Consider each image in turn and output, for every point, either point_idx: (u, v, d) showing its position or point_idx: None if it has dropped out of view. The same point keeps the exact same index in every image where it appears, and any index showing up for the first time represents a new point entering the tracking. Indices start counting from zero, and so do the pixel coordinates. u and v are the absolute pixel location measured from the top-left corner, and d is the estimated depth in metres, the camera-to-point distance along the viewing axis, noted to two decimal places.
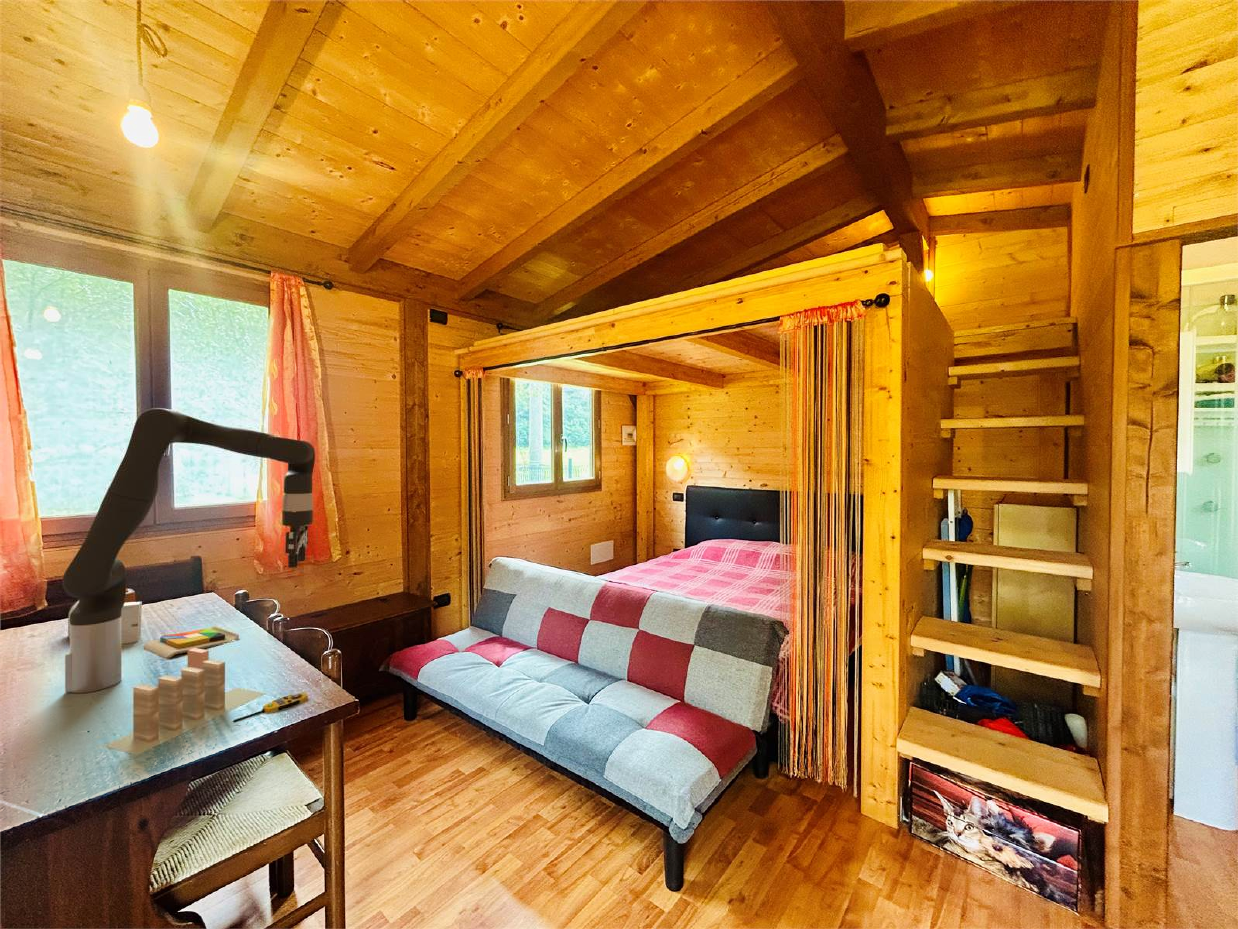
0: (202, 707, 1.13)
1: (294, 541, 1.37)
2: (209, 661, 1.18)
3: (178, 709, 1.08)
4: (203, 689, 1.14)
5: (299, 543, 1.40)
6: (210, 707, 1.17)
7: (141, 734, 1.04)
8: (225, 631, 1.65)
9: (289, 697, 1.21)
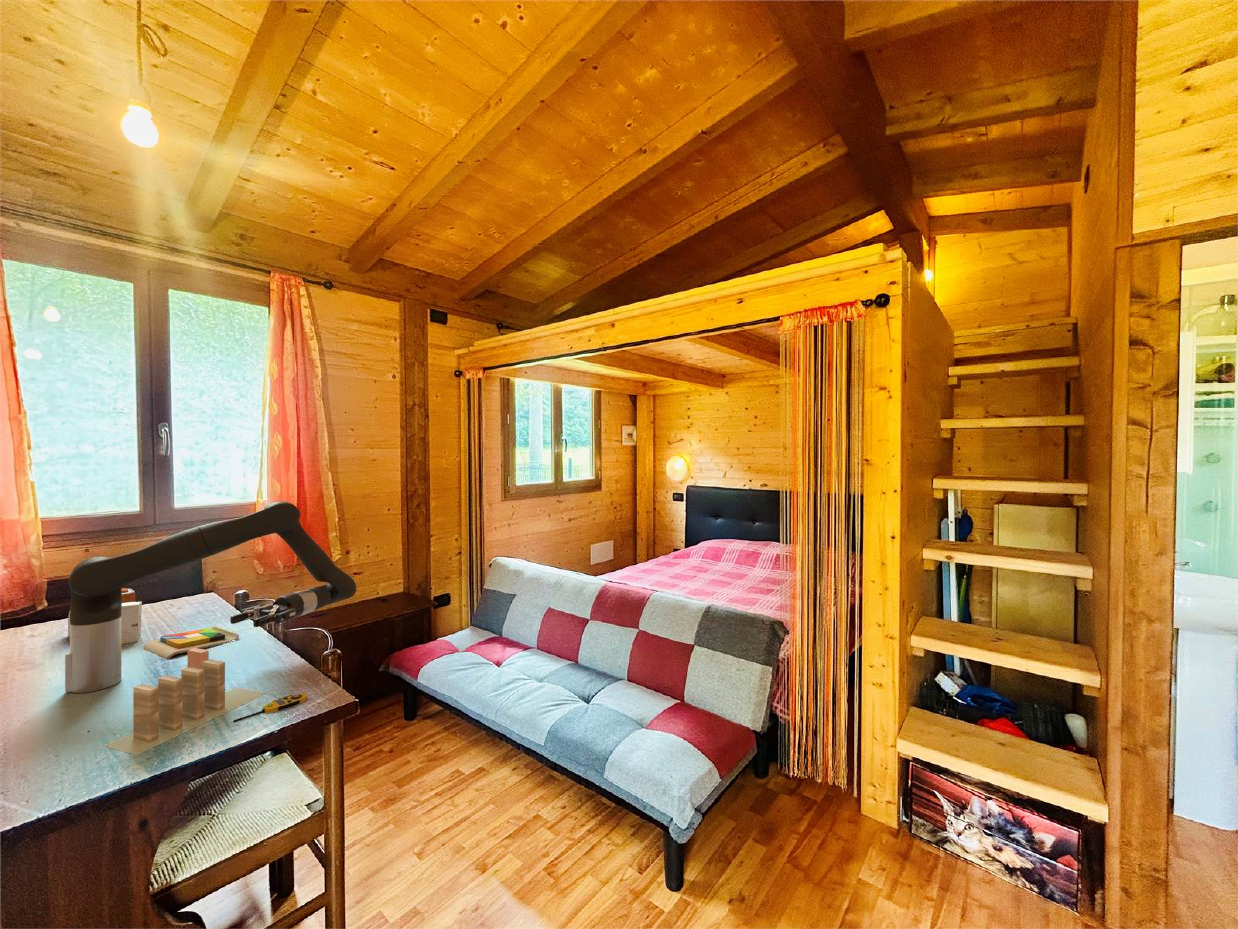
0: (202, 707, 1.13)
1: (288, 618, 1.42)
2: (209, 661, 1.18)
3: (178, 709, 1.08)
4: (203, 689, 1.14)
5: None
6: (210, 707, 1.17)
7: (141, 734, 1.04)
8: (225, 631, 1.65)
9: (289, 697, 1.21)
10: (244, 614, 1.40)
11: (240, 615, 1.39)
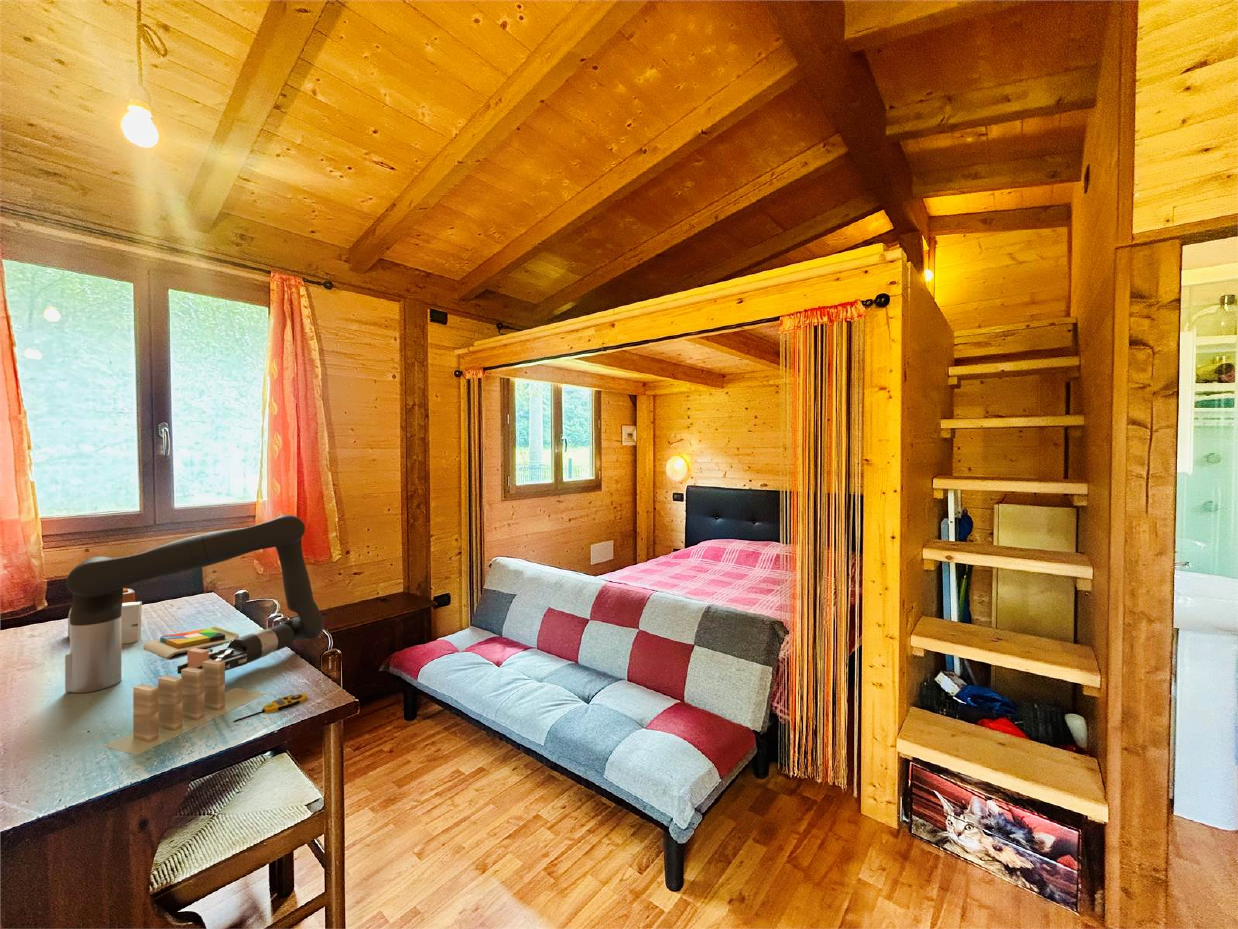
0: (202, 707, 1.13)
1: (235, 666, 1.28)
2: (209, 661, 1.18)
3: (178, 709, 1.08)
4: (203, 689, 1.14)
5: None
6: (210, 707, 1.17)
7: (141, 734, 1.04)
8: (225, 631, 1.65)
9: (289, 697, 1.21)
10: None
11: None
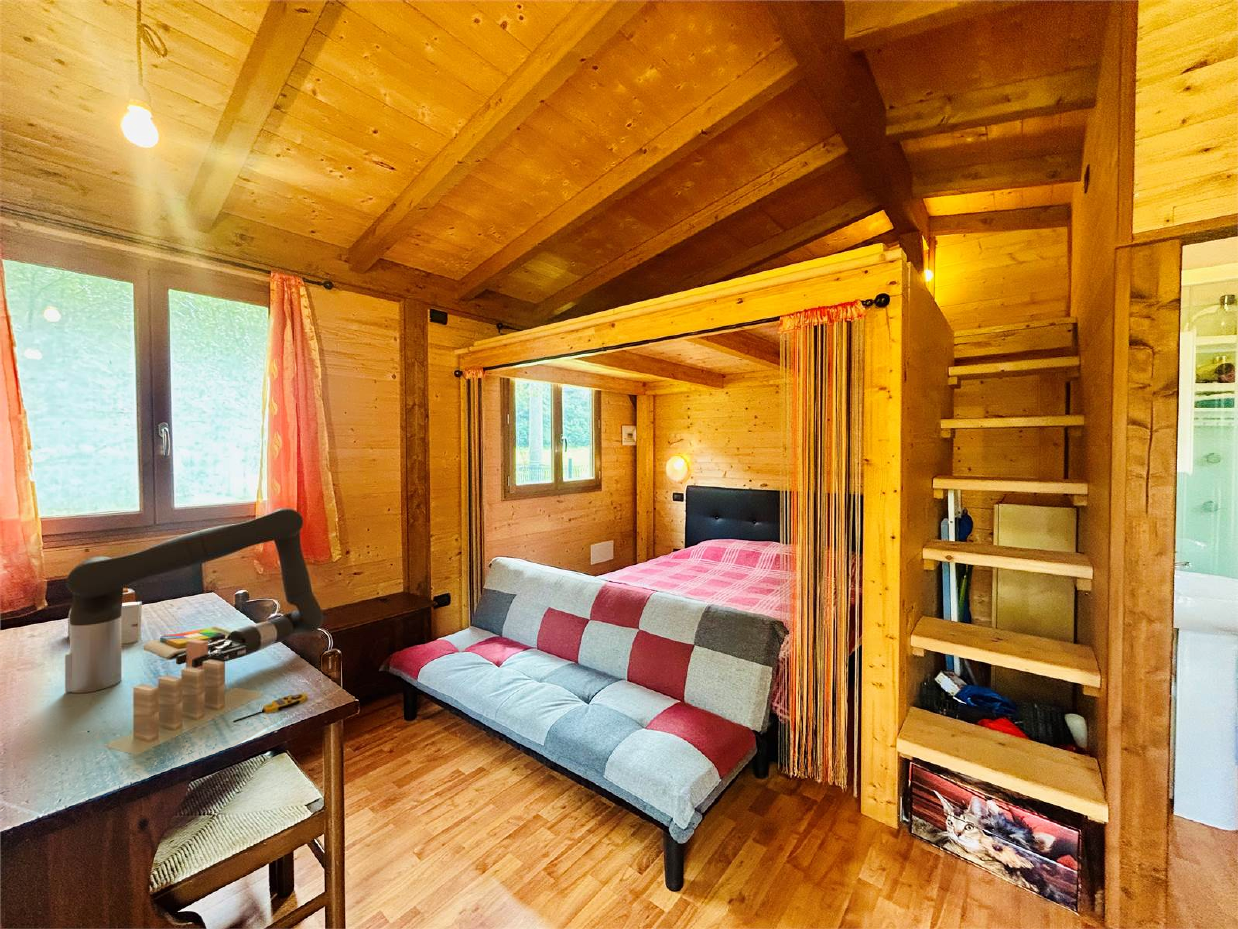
0: (202, 707, 1.13)
1: (234, 657, 1.28)
2: (209, 661, 1.18)
3: (178, 709, 1.08)
4: (203, 689, 1.14)
5: None
6: (210, 707, 1.17)
7: (141, 734, 1.04)
8: (225, 631, 1.65)
9: (289, 697, 1.21)
10: None
11: None
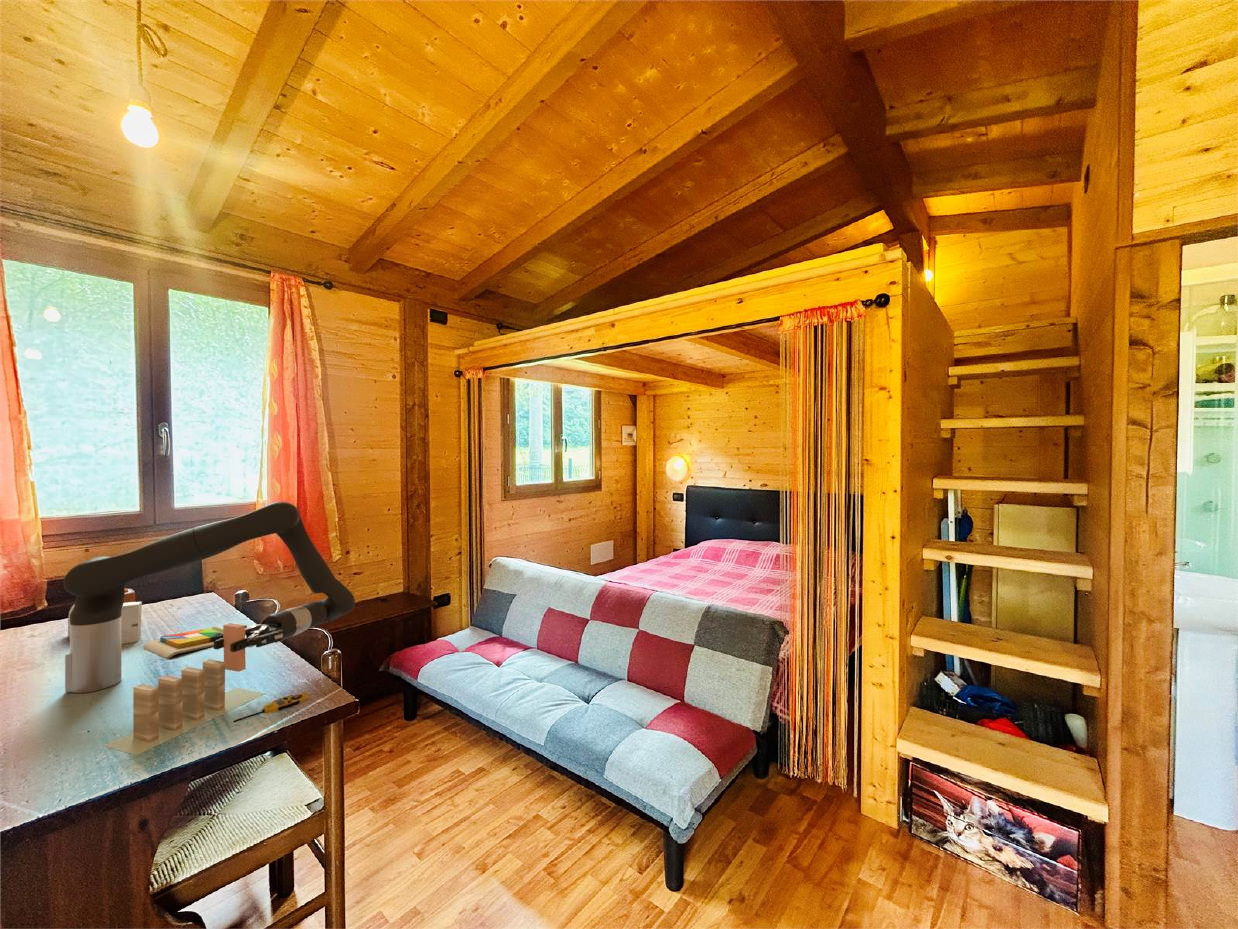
0: (202, 707, 1.13)
1: (272, 642, 1.25)
2: (209, 661, 1.18)
3: (178, 709, 1.08)
4: (203, 689, 1.14)
5: None
6: (210, 707, 1.17)
7: (141, 734, 1.04)
8: None
9: (289, 698, 1.21)
10: None
11: None
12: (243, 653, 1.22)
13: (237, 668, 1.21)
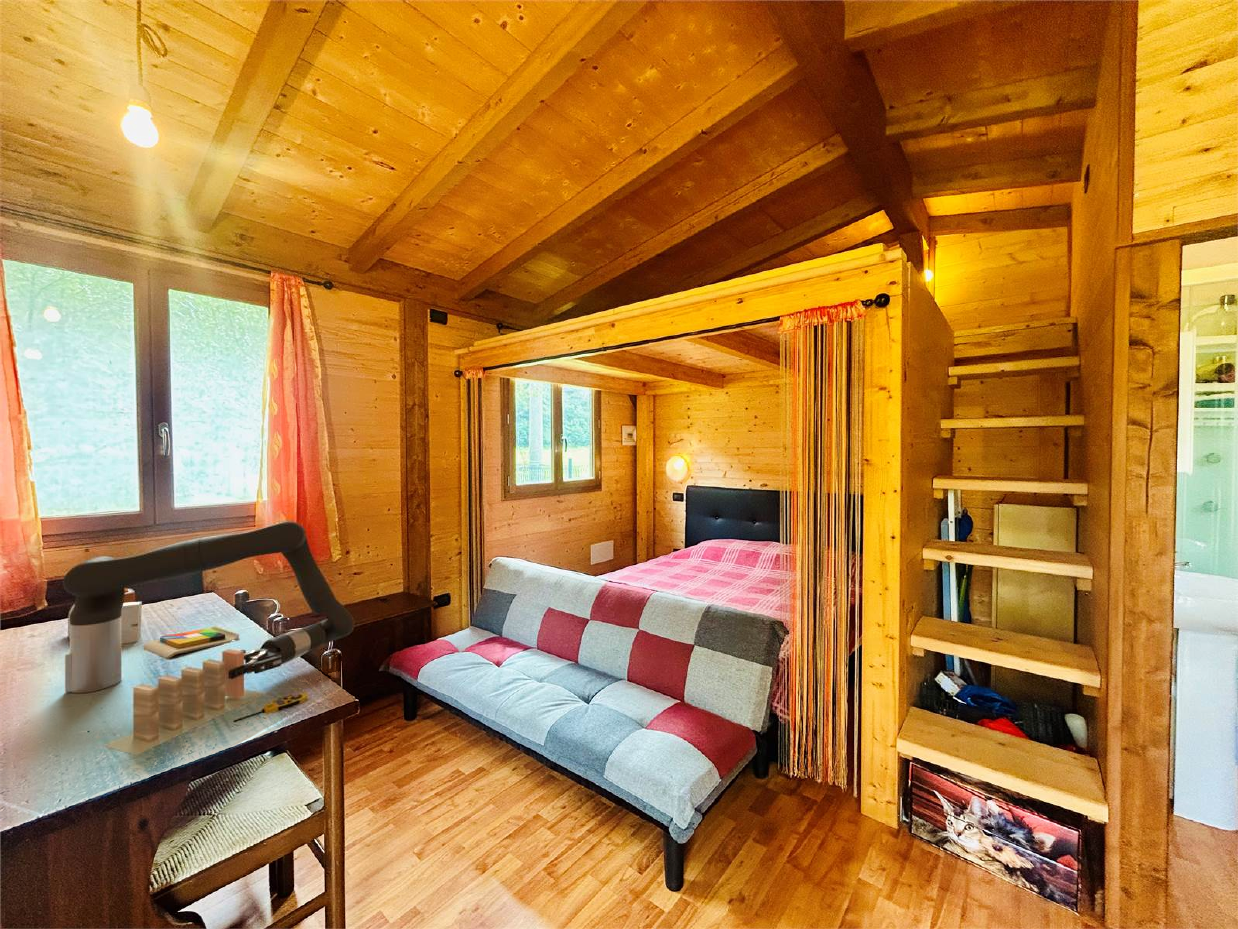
0: (202, 707, 1.13)
1: (270, 668, 1.25)
2: (209, 661, 1.18)
3: (178, 709, 1.08)
4: (203, 689, 1.14)
5: None
6: (210, 707, 1.17)
7: (141, 734, 1.04)
8: (225, 631, 1.65)
9: (289, 697, 1.21)
10: None
11: None
12: (241, 679, 1.22)
13: (235, 695, 1.21)
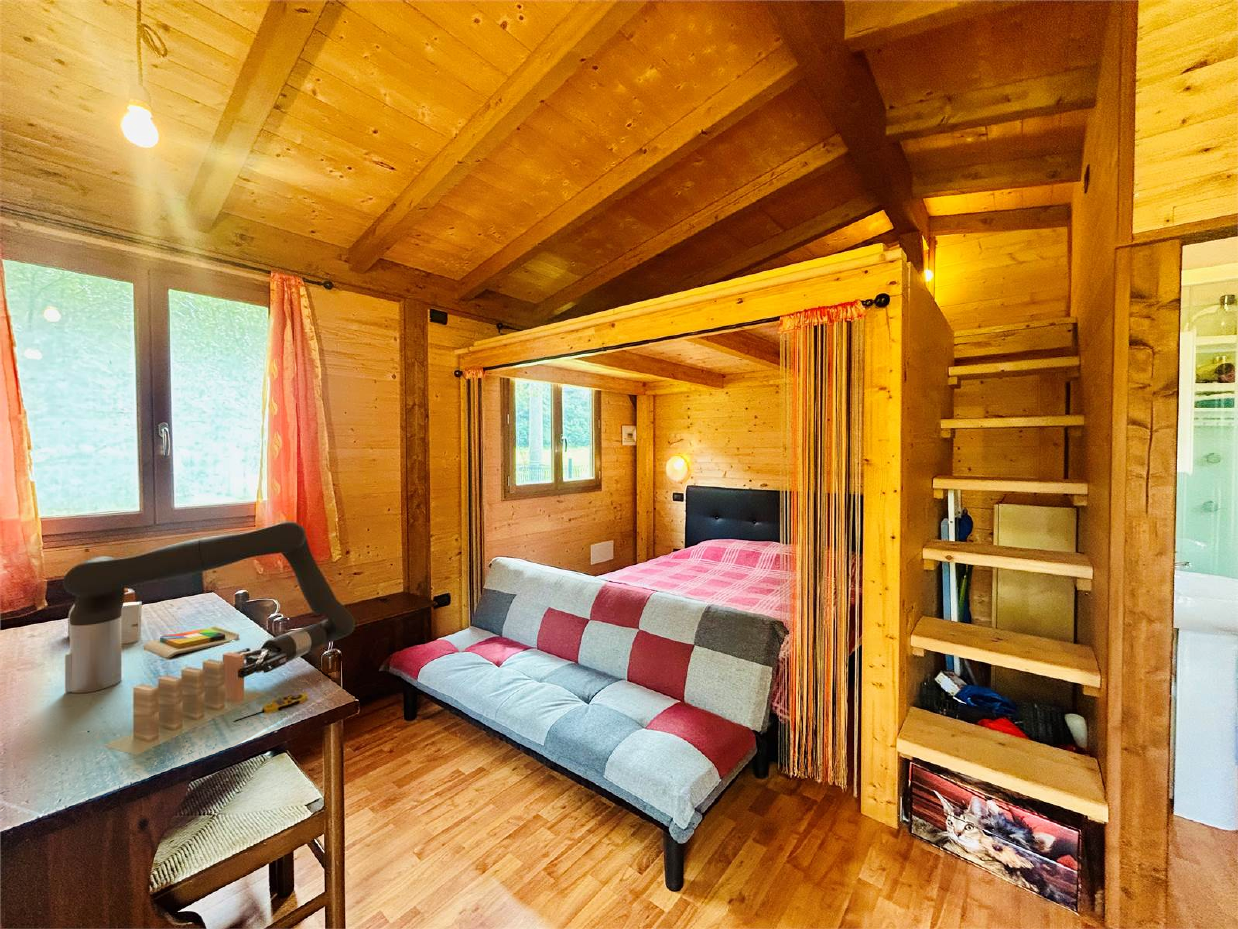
0: (202, 707, 1.13)
1: (277, 666, 1.26)
2: (209, 661, 1.18)
3: (178, 709, 1.08)
4: (203, 689, 1.14)
5: None
6: (210, 707, 1.17)
7: (141, 734, 1.04)
8: (225, 631, 1.65)
9: (289, 698, 1.21)
10: None
11: None
12: (242, 682, 1.22)
13: (236, 698, 1.21)
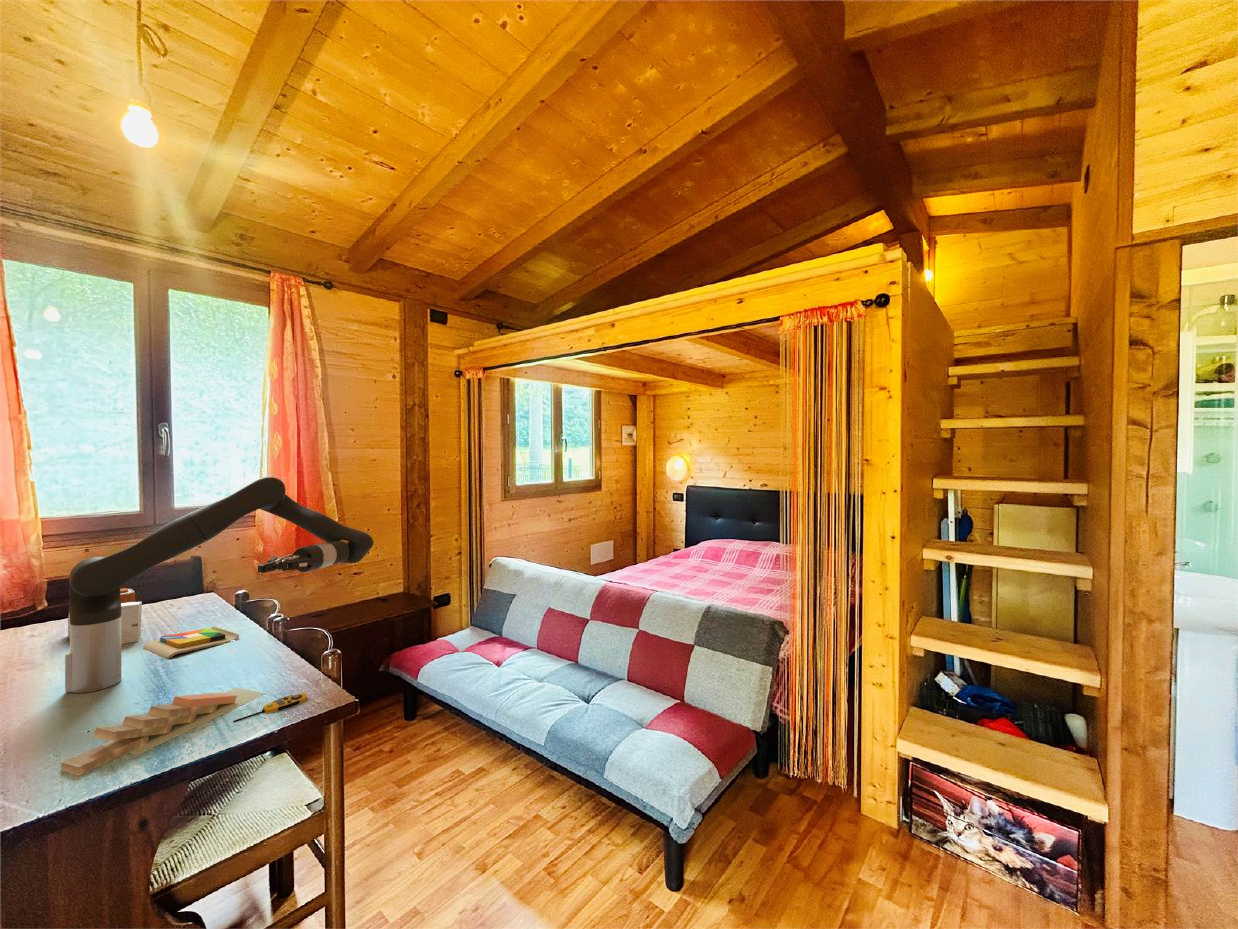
0: (184, 717, 1.10)
1: (296, 568, 1.38)
2: (153, 711, 1.07)
3: (148, 731, 1.03)
4: None
5: None
6: None
7: None
8: (225, 631, 1.65)
9: (289, 697, 1.21)
10: None
11: None
12: (219, 699, 1.17)
13: (230, 702, 1.20)
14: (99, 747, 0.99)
